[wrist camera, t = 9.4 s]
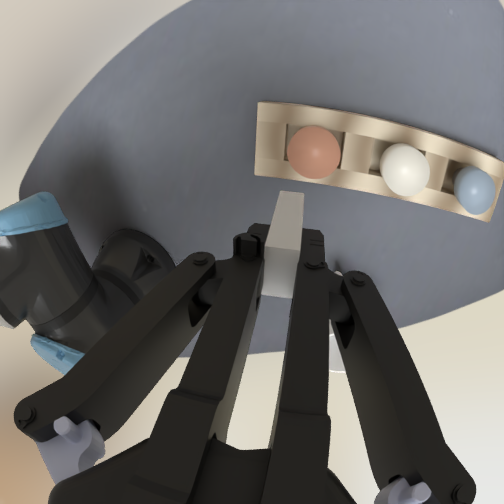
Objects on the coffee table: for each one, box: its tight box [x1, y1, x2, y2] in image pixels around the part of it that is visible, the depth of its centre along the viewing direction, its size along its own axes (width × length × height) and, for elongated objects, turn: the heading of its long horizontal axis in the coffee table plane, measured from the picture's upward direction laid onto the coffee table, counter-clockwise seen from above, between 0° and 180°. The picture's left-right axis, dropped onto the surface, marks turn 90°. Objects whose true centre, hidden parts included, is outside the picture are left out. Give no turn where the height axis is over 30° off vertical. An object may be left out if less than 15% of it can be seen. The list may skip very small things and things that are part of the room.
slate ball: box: [452, 166, 495, 215], centre depth 22 cm, size 5×5×4 cm
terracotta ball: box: [287, 125, 341, 179], centre depth 25 cm, size 5×5×4 cm
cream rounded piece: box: [380, 143, 430, 196], centre depth 24 cm, size 5×5×4 cm
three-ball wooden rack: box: [254, 101, 504, 222], centre depth 26 cm, size 30×8×3 cm, turn 88°
